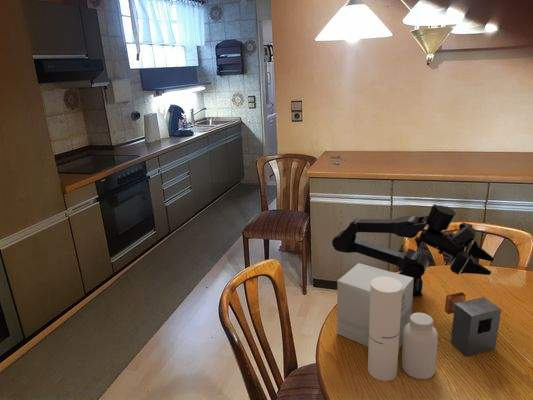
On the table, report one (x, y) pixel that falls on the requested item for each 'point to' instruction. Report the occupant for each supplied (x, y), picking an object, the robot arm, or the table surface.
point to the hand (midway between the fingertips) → (492, 266)
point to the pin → (453, 301)
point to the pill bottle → (419, 346)
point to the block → (475, 326)
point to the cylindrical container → (384, 327)
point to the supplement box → (366, 302)
